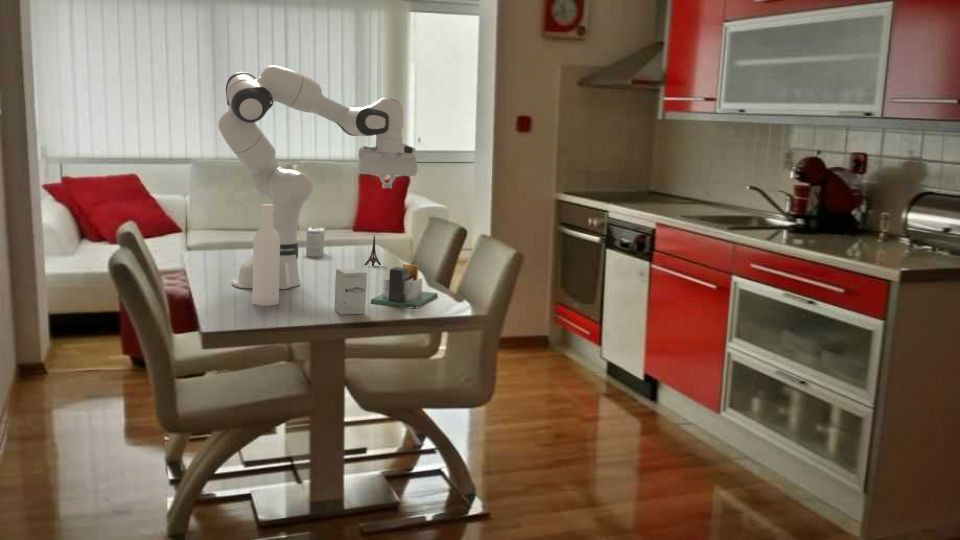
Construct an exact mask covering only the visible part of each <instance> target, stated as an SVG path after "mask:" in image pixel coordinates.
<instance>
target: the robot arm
mask: <svg viewBox="0 0 960 540" xmlns="http://www.w3.org/2000/svg"><path fill="white" fill-rule="evenodd" d="M225 95H226V102H227V103H226V104H227V106H228V107H229V109H228V111H226V112H225V113H223V115H222V116H220V118H219V120H218V124H217V125H218V130H219V132H220V134H221V135H222V138H223V140H224V141H225V142H226V144H227V145H228V148H229V149H231V150H232V152H233V154H234V155H235V156H236V157H237V158H238V159H239V161H240V162H241V163H242V165H243V166H244V167H245V168H246V170H247V171H248V174H249V176H250V178H251V180H250V183H251V189H252V190H253V192H254V193H255V194H256V195H259V196H260V197H261V198H263V199H265V200H270V201H272V205H274V221H273V228H274V229H275V230H276V231H277V232H278V234H279V238H280V264H279V290H280V289H281V290H287V289H290V288H294V287H297V286H301V279H300V276H299V268H298V258H299V243H298V226H299V225H298V224H299V217H300V214H301V211H302V208H303V206H304V204H305V202H306V201H308V200H309V199H310V197H311V195H312V193H313V188H314V187H313V181H312V180H311V178H310V176H308V175H307V174H305V173H303V172H301V171H300V170H297V169H289V168H284V167H283V166H281V165H280V164H279V162H278V160H277V159H276V154H277V153H276V148H275V147H274V145H273V144H272V143H271V142H270V140H269V139H268V138H267V137H266V135H265V134H264V132H263V131H262V130H261V129H260V128H259V126H258V124H257V122H258V121H260V120H262V119H263V118H264V116H265V115H266V114H267V112H268V111H269V110H270V109H271V108H272V107H273V106H274V102H277V103H279V104H281V105H284V106H286V107H288V108H291V109H294V110H297V111H300V112H304V113H310V114H311V113H312V114H316V115H317V116H321V117H323V118H325V119H326V120H329V121H331V122H333V123H335V124H337V126H338V127H340V129H341V130H342V131H343V132H344V133H346V134H347V135H348V136H351V137H358V136H359V137H372V136H375V146H366V145H364V146H362V147H361V148H359V149H358V158H359V159H358V163H357V164H358V165H357V172H358V173H359V174H361V175H379V176H378V177H379V180H380V182H381V184H382V185H381V188H382V189H389V190H390V189H391V190H392V188H393V183H394V181H396V177H397V176H407V177H410V176H411V177H415V176H417V173H418V159H417V157H416V155H415V153H416V148H415V147H413V146H410V145H409V144H406V143H403V135H402V131H403V127H404V109H403V104H402V103H401V102H400V101H398V100H396V99H393V98H389V97H380V98H379V100H376V101H375V102H372V103H371V104H368V105H365V106H357V105H343V104H341V103H339V102H337V101H335V100H333V99H331V98H329V97H326V96H325V95H324V94H323V90H322V87H321V86H320V84H319V83H318V82H317V81H315V80H314V79H312V78H311V77H309V76H308V75H305V74H303V73H300V72H298V71H296V70H293V69H291V68H287V67H283V66H280V65H275V64H272V65H268V66H267V67H266V68H264V70H263V71H262V73H261V74H260V76H259V77H258V78H256V77H255V76H254V75H252V74H251V73H250V72H246V71H239V72H238V71H237V72H235V73H233V74H232V75H230V77H229V78H228V79H227V81H226V84H225ZM386 176H389V179H390V180H389V181H388V182H386V180H385V179H386ZM231 285H233V286H234V287H236V288H240V289H253V256H251V257H250V258H248V259H247V260H245V261H244V262H243V263H242V264H241V265H240V267H239V271H238V277H234V278H232V279H231Z"/></svg>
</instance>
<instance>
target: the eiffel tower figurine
mask: <svg viewBox="0 0 960 540" xmlns="http://www.w3.org/2000/svg"><path fill="white" fill-rule="evenodd" d="M375 234H376V233H374V236H373V240H372V248H371V252H370V256H369V258H368V259H367V260H366V261H365V262H366V263H363V266H364V265H368V264H370V263H369V262H372V266H374V263H378V264H379V265H381V263H382V262H380V261H379V258H378V256H377V252H376V236H375Z"/></svg>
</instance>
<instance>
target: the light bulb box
mask: <svg viewBox="0 0 960 540" xmlns="http://www.w3.org/2000/svg"><path fill="white" fill-rule="evenodd" d="M305 242H306V243H305V244H306V245H305V246H306V247H305V257H318V258H321V257H323V254H324V251H325V246H324V245H325V227H310V226H309V227H308V229H307V230H306V241H305Z"/></svg>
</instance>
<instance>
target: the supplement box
mask: <svg viewBox="0 0 960 540" xmlns="http://www.w3.org/2000/svg"><path fill="white" fill-rule="evenodd" d="M367 276H368V272H366V271H364V270H362V269H360V268H336V269H335V282H334V284H335V285H334V305H333V306H334V311H335V312H337V313H338V314H340V315H341V316H344V315H365V314H366V299H367V296H366V295H367V282H368V279H367Z"/></svg>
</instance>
